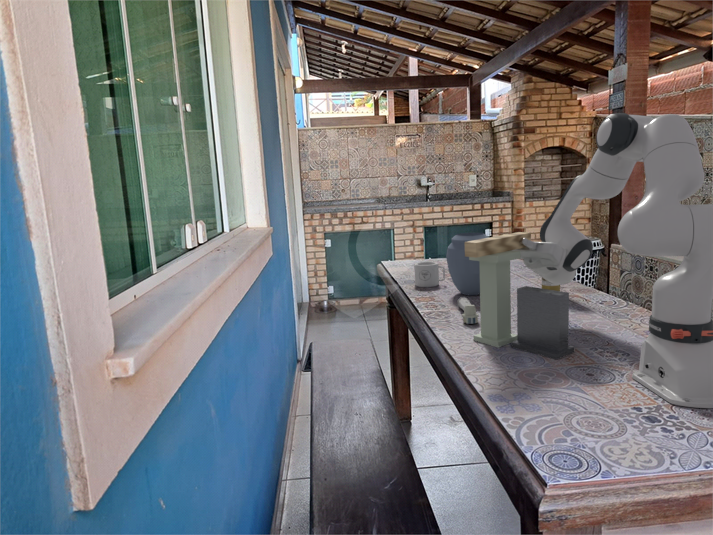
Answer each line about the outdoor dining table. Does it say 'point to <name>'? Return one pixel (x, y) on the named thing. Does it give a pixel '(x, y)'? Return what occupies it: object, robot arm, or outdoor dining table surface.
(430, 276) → the mug
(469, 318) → the light grey brush
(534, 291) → the dark grey upright block
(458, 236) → the vase
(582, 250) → the robot arm
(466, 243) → the beam
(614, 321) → the outdoor dining table surface
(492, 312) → the pedestal
